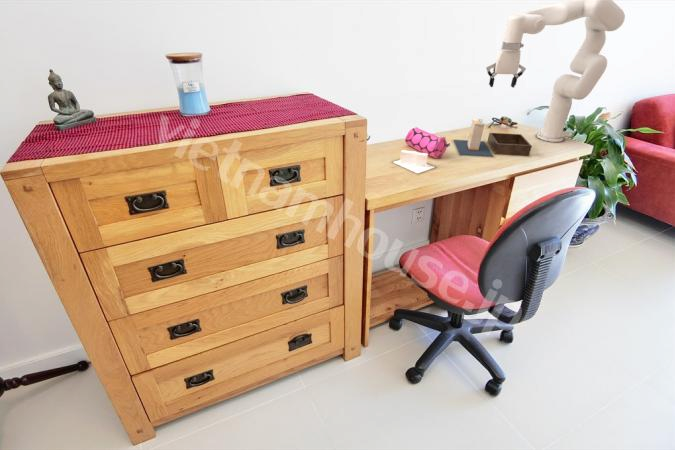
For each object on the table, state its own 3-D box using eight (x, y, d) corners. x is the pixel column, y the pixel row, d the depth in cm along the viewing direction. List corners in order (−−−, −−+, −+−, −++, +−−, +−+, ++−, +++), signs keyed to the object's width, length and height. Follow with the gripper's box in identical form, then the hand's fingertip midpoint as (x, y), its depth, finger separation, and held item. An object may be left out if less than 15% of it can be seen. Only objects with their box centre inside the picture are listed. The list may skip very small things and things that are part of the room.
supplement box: (478, 150, 178) (485, 124, 171) (468, 150, 179) (474, 123, 172) (476, 145, 185) (482, 118, 178) (466, 144, 186) (472, 118, 179)
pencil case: (448, 156, 173) (452, 135, 167) (434, 160, 168) (437, 139, 162) (415, 142, 187) (418, 123, 182) (401, 146, 183) (403, 126, 177)
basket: (518, 143, 188) (521, 134, 186) (528, 156, 174) (532, 145, 172) (487, 142, 190) (489, 132, 187) (494, 154, 176) (497, 144, 173)
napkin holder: (392, 162, 166) (393, 150, 163) (409, 156, 172) (411, 144, 169) (417, 173, 156) (419, 160, 153) (435, 167, 162) (437, 154, 159)
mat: (483, 142, 190) (483, 141, 190) (492, 156, 173) (493, 156, 173) (453, 140, 191) (454, 139, 191) (460, 155, 174) (460, 154, 174)
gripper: (528, 45, 167) (518, 85, 177) (488, 45, 169) (481, 84, 178) (533, 48, 161) (523, 89, 170) (492, 47, 163) (484, 88, 172)
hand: (501, 86), depth 174 cm, fingers open, 9 cm apart
